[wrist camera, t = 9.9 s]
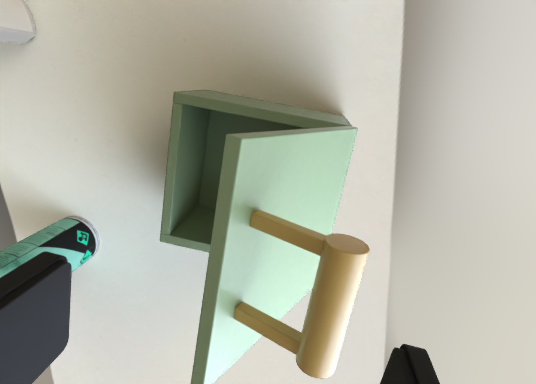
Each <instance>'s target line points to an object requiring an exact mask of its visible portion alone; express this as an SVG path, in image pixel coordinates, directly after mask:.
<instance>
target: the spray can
mask: <svg viewBox="0 0 536 384" xmlns="http://www.w3.org/2000/svg"><path fill="white" fill-rule="evenodd" d="M98 248H99V237H98V234H97V232H96V230H95V228H94V227H93V226H92V225H91V224H90V223H89V222H88V221H86V220H85V219H83V218H80V217H76V216H70V217H66V218H64V219H61V220H59V221H58V222H56V223H54V224H52V225H50V226H48V227H46V228H44V229H42V230H40V231H38V232H37V233H35V234H33V235H31V236H29V237H27V238H25V239H23V240H21V241H19V242H17V243H16V244H14V245H12V246H10V247H8V248H6V249H4V250H2V251H0V278H1V277H2V276H4V275H5V274H7V273H9V272H10V271H12V270H14V269H15V268H17V267H19V266H20V265H22V264H23V263H25V262H27V261H28V260H30V259H32V258H33V257H35V256H37V255H38V254H40V253H42V252H44V251H47V252H51V253H55V254H59V255H63V256H65V257H66V258H67V260H68V262H69V263H71V266H72V272H73V271H74V270H75V269H77V268H78V267H79V266H81V265H82V264H83V263H85V262H86V261H87V260H89V259H90V258H91V257H92V256H93V255H94V254H95V253H96V252H97V250H98Z"/></svg>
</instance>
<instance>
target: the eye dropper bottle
mask: <svg viewBox="0 0 536 384" xmlns="http://www.w3.org/2000/svg"><path fill="white" fill-rule="evenodd" d="M35 34H36V28H35V24H34V20H33V17H32V14H31V12H30V10H29V8H28V6H27V4H26V3H25V1H24V0H0V42H7V43H15V44H23V43H25V42H27V41H28V40H30V39H31V38H33V37H34V36H35Z"/></svg>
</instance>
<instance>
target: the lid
mask: <svg viewBox="0 0 536 384" xmlns="http://www.w3.org/2000/svg"><path fill="white" fill-rule="evenodd" d="M357 131H358V128H356V127H351V126H339V127H325V128H310V129H296V130H281V131H266V132H252V133H237V134H227V135H226V139H225V146H224V153H223V160H222V167H221V175H220V182H219V189H218V196H217V203H216V210H215V217H214V224H213V231H212V238H211V245H210V252H209V259H208V266H207V273H206V280H205V287H204V294H203V301H202V308H201V315H200V323H199V330H198V337H197V344H196V351H195V358H194V365H193V372H192V379H191V384H213V383H214V382H215V381H216V380H217V379H218V378H219V377H220V376H221V375H222V374H223V373H224V372H225V371H226V370H227V369H228V368H230V367H231V366H232V365H233V364H234V363H235V362H236V361H237V360H238V359H239V358H240V357H241V356H242V355H243V354H244V353H245V352H246V351H247V350H248V349H249V348H251V347H252V346H253V345H254V344H255V343H256V342H257V341H258V340H259V339H260V338H261V337H262V336H264V337H266V338H268V339H270V340H271V341H273V342H275V343H277V344H278V345H280V346H282V347H284V348H285V349H287V350H289V351H291V352H292V353H294V354H296V362H297V365H298V367H299V368H300V369H301V370H302V371H303V372H304V373H306V374H307V375H309V376H311V377H314V378H320V379H323V378H328V377H330V376H331V375H332V374H333V373H334V372H335V369H336V365H337V362H338V358H339V355H340V351H341V348H342V344H343V341H344V338H345V334H346V331H347V327H348V324H349V320H350V317H351V313H352V310H353V306H354V303H355V299H356V296H357V292H358V289H359V286H360V282H361V279H362V275H363V272H364V268H365V265H366V261H367V258H368V254H369V251H370V250H369V247H368V245H367V244H366V243H364V242H363V241H361V240H359V239H357V238H355V237H352V236H349V235H345V234H332V231H333V227H334V223H335V219H336V215H337V211H338V207H339V203H340V199H341V195H342V191H343V187H344V183H345V179H346V175H347V171H348V167H349V163H350V159H351V155H352V151H353V147H354V143H355V139H356V135H357ZM312 288H313V289H312ZM311 289H312V293H311V297H310V301H309V305H308V309H307V313H306V317H305V321H304V325H303V330H302V333H301V332H299V331H297V330H295V329H293V328H291V327H290V326H288V325H286V324H284V323H282V322H280V321H279V320H280V319H281V318H282V317H283V316H284V315H285V314H286V313H287V312H288V311H289V310H290V309H291V308H293V307H294V306H295V305H296V304H297V303H298V302H299V301H300V300H301V299H302V298H303V297H304V296H305V295H306V294H307V293H308V292H309V291H310V290H311Z"/></svg>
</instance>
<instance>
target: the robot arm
mask: <svg viewBox="0 0 536 384" xmlns="http://www.w3.org/2000/svg"><path fill="white" fill-rule="evenodd" d="M71 272H72V266H71V263H69V262H68V260H67V258H66V257H65V256H63V255H59V254H55V253H51V252H47V251H44V252H42V253H40V254H38V255H37V256H35V257H33V258H32V259H30V260H28V261H27V262H25V263H23V264H22V265H20V266H19V267H17V268H15V269H14V270H12V271H10V272H9V273H7V274H5V275H4V276H2V277H1V278H0V384H32V383H33V382H34V381H35V380H36V379H37V378H38V377H39V376H40V375H41V373H42V372H43V371H44V370H45V369H46V368H47V367H48V366H49V365H50V364H51V363H52V362H53V361H54V360H55V359H56V358H57V357H58V356H59V355H60V354H61V353H62V351H63V350H64V349H65V347H66V345H67V342H68V338H69V318H70V295H71ZM380 384H440V383H439V380H438V378H437V375H436V373H435V371H434V368H433V366H432V363H431V361H430V358H429V356H428V353H427V351H426V350H425V349H422V348H418V347H414V346H410V345H407V344H403V345H402V346H401V347H400V348H394V349H393V351H392V353H391V356H390V359H389V361H388V364H387V367H386V369H385V372H384V375H383V377H382V380H381V383H380Z"/></svg>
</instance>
